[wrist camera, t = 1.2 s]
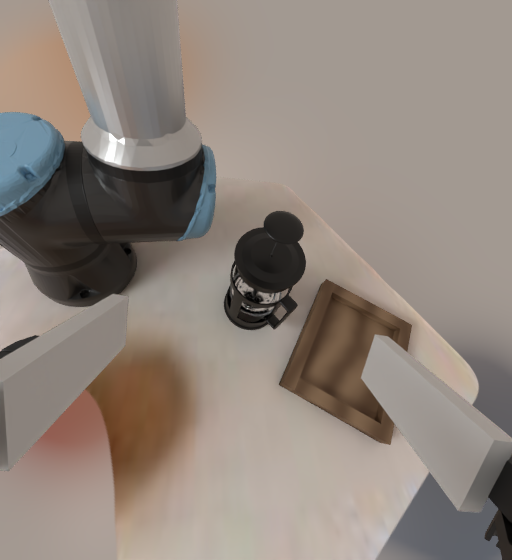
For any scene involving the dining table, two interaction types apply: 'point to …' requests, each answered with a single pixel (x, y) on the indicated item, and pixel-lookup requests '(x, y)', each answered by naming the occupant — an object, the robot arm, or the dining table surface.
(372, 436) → the walnut tray
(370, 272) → the dining table surface
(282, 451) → the dining table surface
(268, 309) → the french press
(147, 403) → the dining table surface
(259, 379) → the dining table surface
